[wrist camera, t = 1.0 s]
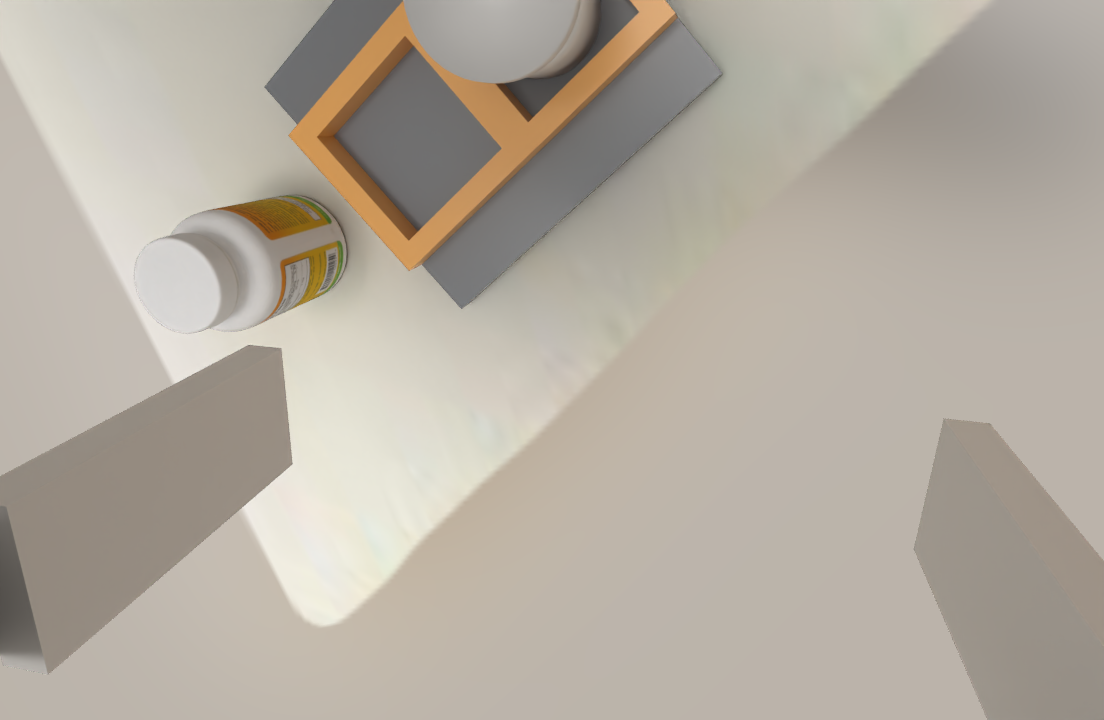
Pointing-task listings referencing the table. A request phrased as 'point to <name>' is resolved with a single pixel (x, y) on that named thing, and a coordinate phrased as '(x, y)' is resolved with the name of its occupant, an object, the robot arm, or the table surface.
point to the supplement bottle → (240, 264)
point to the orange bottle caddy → (482, 116)
